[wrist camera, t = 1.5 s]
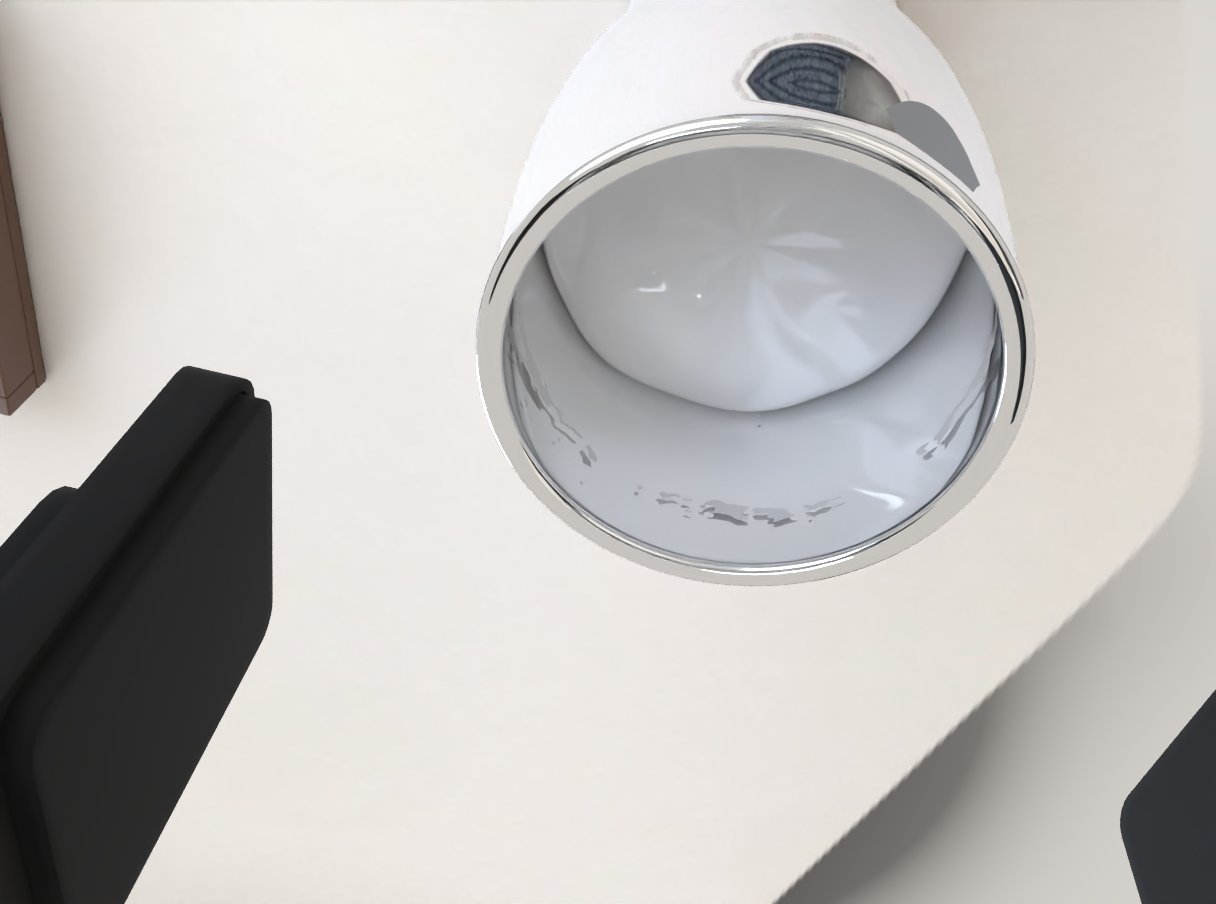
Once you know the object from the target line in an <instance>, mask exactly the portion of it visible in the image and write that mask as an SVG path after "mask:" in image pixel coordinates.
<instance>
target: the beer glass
mask: <svg viewBox="0 0 1216 904" xmlns="http://www.w3.org/2000/svg"><path fill="white" fill-rule="evenodd" d="M475 363H476V374H477V381H478V387H479V392H480V397H481V401H482V404H483V408H484V411H485V414H486V417H487V420H488V423H489V425H490V428H491V430H492V433H493V435H494V437H495V439H496V441H497V443H498V445H499V447H500V449H501V451H502V452H503V454H504V456H505V457H506V459H507V461H508V462H509V464H510V465H511V467H512V468H513V470H514V471H515V472H516V474H517V475H518V476H519V478H520V479H521V480H522V482H523V483H524V484H525V485H526V487H527V488H528V489H529V490H530V491H531V492H532V493H533V494H534V496H535V497H536V498H537V499H538V500H539V501H540V502H541V503H542V504H543V505H544V506H545V507H546V508H547V509H548V510H550V511H551V512H552V513H553V514H554V515H555V516H556V517H558V518H559V519H560V520H561V521H562V522H564V523H565V524H566V525H568V526H569V527H570V528H572V529H573V530H574V531H576V532H577V533H579V534H580V535H582V536H583V537H585V538H586V539H588V540H589V541H591V542H593V543H594V544H596V545H598V546H600V547H601V548H603V549H605V550H607V551H609V552H611V553H613V554H615V555H617V556H619V557H621V558H623V559H626V560H628V561H630V562H633V563H635V564H637V565H640V566H643V567H645V568H648V569H651V570H655V571H658V572H661V573H664V574H668V575H672V576H675V577H679V578H684V579H689V580H694V581H699V582H705V583H712V584H721V585H733V586H777V585H789V584H797V583H805V582H811V581H817V580H822V579H826V578H831V577H835V576H839V575H843V574H846V573H849V572H852V571H855V570H858V569H861V568H864V567H867V566H870V565H872V564H875V563H877V562H880V561H882V560H884V559H887V558H889V557H891V556H893V555H895V554H897V553H899V552H901V551H903V550H905V549H907V548H909V547H910V546H912V545H914V544H916V543H917V542H919V541H921V540H922V539H924V538H925V537H927V536H928V535H930V534H931V533H933V532H934V531H936V530H937V529H938V528H940V527H941V526H942V525H944V524H945V523H946V522H948V521H949V520H950V519H951V518H952V517H954V516H955V515H956V514H957V513H958V512H959V511H960V510H962V509H963V508H964V507H965V506H966V505H967V504H968V503H969V502H970V501H971V500H972V499H973V498H974V497H975V496H976V495H977V494H978V492H979V491H980V490H981V489H982V488H983V487H984V485H985V484H986V483H987V482H988V481H989V479H990V478H991V477H992V475H993V474H994V472H995V471H996V470H997V468H998V467H999V465H1000V464H1001V462H1002V461H1003V459H1004V457H1005V456H1006V454H1007V452H1008V451H1009V449H1010V447H1011V445H1012V443H1013V441H1014V439H1015V437H1016V435H1017V433H1018V430H1019V428H1020V425H1021V423H1022V420H1023V418H1024V415H1025V412H1026V408H1027V405H1028V401H1029V397H1030V393H1031V388H1032V382H1033V375H1034V365H1035V333H1034V323H1033V317H1032V311H1031V306H1030V302H1029V298H1028V294H1027V291H1026V288H1025V284H1024V282H1023V279H1022V276H1021V274H1020V271H1019V269H1018V264H1017V258H1016V253H1015V247H1014V241H1013V235H1012V231H1011V226H1010V222H1009V217H1008V212H1007V208H1006V203H1005V199H1004V195H1003V190H1002V186H1001V183H1000V180H999V176H998V173H997V170H996V167H995V164H994V161H993V158H992V155H991V152H990V149H989V146H988V143H987V140H986V137H985V134H984V132H983V129H982V126H981V124H980V122H979V120H978V117H977V115H976V113H975V111H974V109H973V107H972V105H971V104H970V102H969V100H968V98H967V96H966V94H965V92H964V91H963V89H962V87H961V85H960V83H959V81H958V79H957V78H956V76H955V74H954V72H953V71H952V69H951V67H950V66H949V64H948V63H947V61H946V59H945V58H944V57H943V55H942V54H941V52H940V51H939V50H938V48H937V47H936V46H935V45H934V44H933V42H932V41H931V40H930V39H929V38H928V37H927V36H926V35H925V34H924V33H923V32H922V31H921V30H920V29H919V28H918V27H917V26H916V25H915V24H914V23H913V22H912V21H911V20H910V19H909V18H908V17H907V16H906V15H905V14H904V13H903V12H902V11H901V10H900V9H899V8H898V7H897V0H630V1H629V6H628V10H627V11H626V12H625V13H624V14H623V15H622V16H621V17H619V18H618V19H617V20H616V21H615V22H614V23H613V24H612V25H611V26H610V27H609V28H608V29H607V30H606V31H605V32H604V33H603V34H602V35H600V36H599V38H598V39H597V40H596V41H595V42H594V43H593V44H592V45H591V46H590V47H589V49H588V50H587V51H586V52H585V53H584V55H583V56H582V57H581V59H580V60H579V61H578V63H577V64H576V66H575V67H574V69H573V70H572V72H571V73H570V75H569V76H568V78H567V80H566V81H565V83H564V85H563V86H562V88H561V90H560V91H559V93H558V95H557V96H556V98H555V100H554V101H553V103H552V105H551V106H550V108H549V110H548V112H547V114H546V115H545V117H544V119H543V121H542V123H541V125H540V128H539V130H538V132H537V135H536V137H535V139H534V142H533V144H532V147H531V149H530V152H529V154H528V157H527V159H526V162H525V165H524V167H523V170H522V172H521V175H520V178H519V180H518V183H517V187H516V190H515V193H514V197H513V200H512V203H511V207H510V210H509V214H508V217H507V221H506V224H505V227H504V231H503V235H502V239H501V243H500V248H499V252H498V256H497V259H496V261H495V263H494V265H493V267H492V270H491V272H490V275H489V277H488V280H487V283H486V285H485V289H484V292H483V295H482V299H481V303H480V308H479V313H478V318H477V326H476V337H475Z"/></svg>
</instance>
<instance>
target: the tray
mask: <svg viewBox="0 0 1216 904" xmlns="http://www.w3.org/2000/svg"><path fill="white" fill-rule="evenodd" d="M44 382H45V373H44V368H43V362H42V356H41V350H40V344H39V338H38V332H37V326H36V321H35V315H34V309H33V303H32V297H31V291H30V285H29V279H28V274H27V268H26V262H25V256H24V250H23V244H22V238H21V233H20V227H19V221H18V215H17V209H16V203H15V197H14V191H13V186H12V180H11V174H10V168H9V162H8V156H7V150H6V144H5V139H4V133H3V127H2V121H1V115H0V414H3V415H8V416H10V415H12V414H13V413H14V412H15V411H16V410H17V409H18V408H19V407H20V406H21V405H22V404H23V403H24V402H25V401H26V400H27V399H28V398H29V397H30V396H31V395H32V394H33V393H34V392H35V391H36V388H39V387H40V386H41V385H42V384H43V383H44Z"/></svg>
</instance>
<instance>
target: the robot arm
mask: <svg viewBox="0 0 1216 904" xmlns="http://www.w3.org/2000/svg"><path fill="white" fill-rule="evenodd" d="M271 611H272V412H271V405H270V403H269V401H267V400H265V399H260V398H256V397H255V396H254V388H253V386H252V383H251V382H250V381H249V380H247V379H244V378H240V377H236V376H231V375H227V374H222V373H218V372H214V371H209V370H205V369H201V368H196V367H192V366H186V367H183V368H181V369H180V370H179V371H178V372H177V373H176V374H175V375H174V376H173V377H172V379H171V380H170V381H169V382H168V383H167V385H166V386H165V387H164V388H163V389H162V391H161V392H160V393H159V394H158V395H157V396H156V398H155V399H154V400H153V401H152V402H151V404H150V405H149V406H148V407H147V408H146V409H145V411H144V412H143V413H142V414H141V415H140V417H139V418H138V419H137V420H136V421H135V422H134V424H133V425H132V426H131V427H130V428H129V430H128V431H127V432H126V433H125V434H124V435H123V437H122V438H121V439H120V440H119V441H118V443H117V444H116V445H115V446H114V447H113V448H112V450H111V451H110V452H109V453H108V454H107V456H106V457H105V458H104V459H103V460H102V461H101V463H100V464H99V465H98V466H97V467H96V469H95V470H94V471H93V472H92V473H91V474H90V476H89V477H88V478H87V479H86V480H85V482H84V483H83V484H82V485H81V486H80V487H79V489H76V488H71V487H67V486H64V487H61V488H58V489H56V490H53V491H52V492H51V493H50V494H48V495H47V496H46V497H45V498H44V499H43V500H42V501H41V502H39V504H38V505H37V506H36V507H35V508H34V509H33V510H32V512H31V513H30V514H29V515H28V516H27V517H26V518H25V519H24V521H23V522H22V523H21V524H20V525H19V526H18V527H17V529H16V530H15V531H14V532H13V533H12V534H11V535H10V537H9V538H8V539H7V540H6V541H5V542H4V543H3V545H2V546H1V547H0V904H124V903H125V901H126V899H127V898H128V896H129V894H130V892H131V890H132V888H133V886H134V884H135V882H136V880H137V879H138V877H139V875H140V873H141V871H142V869H143V867H144V865H145V863H146V861H147V859H148V858H149V856H150V854H151V852H152V850H153V848H154V846H155V844H156V842H157V840H158V839H159V837H160V835H161V833H162V831H163V829H164V827H165V825H166V823H167V821H168V819H169V818H170V816H171V814H172V812H173V810H174V808H175V806H176V804H177V802H178V800H179V799H180V797H181V795H182V793H183V791H184V789H185V787H186V785H187V783H188V781H189V779H190V778H191V776H192V774H193V772H194V770H195V768H196V766H197V764H198V762H199V760H200V759H201V757H202V755H203V753H204V751H205V749H206V747H207V745H208V743H209V741H210V739H211V738H212V736H213V734H214V732H215V730H216V728H217V726H218V724H219V722H220V720H221V718H222V717H223V715H224V713H225V711H226V709H227V707H228V705H229V703H230V701H231V699H232V698H233V696H234V694H235V692H236V690H237V688H238V686H239V684H240V682H241V680H242V678H243V677H244V675H245V673H246V671H247V669H248V667H249V665H250V663H251V661H252V659H253V658H254V656H255V654H256V652H257V650H258V648H259V646H260V644H261V642H262V640H263V638H264V636H265V633H266V630H267V627H268V624H269V620H270V616H271ZM1120 828H1121V834H1122V839H1123V842H1124V845H1125V849H1126V852H1127V856H1128V859H1129V862H1130V865H1131V869H1132V872H1133V876H1134V879H1135V882H1136V885H1137V889H1138V892H1139V896H1140V899H1141V902H1142V904H1216V690H1215V691H1214V692H1213V693H1212V695H1211V696H1210V697H1209V698H1208V699H1207V701H1206V702H1205V703H1204V704H1203V706H1202V707H1201V708H1200V709H1199V710H1198V712H1197V713H1196V714H1195V715H1194V717H1193V718H1192V719H1191V720H1190V721H1189V722H1188V724H1187V725H1186V726H1185V727H1184V729H1183V730H1182V731H1181V732H1180V733H1179V735H1178V736H1177V737H1176V738H1175V739H1174V741H1173V742H1172V743H1171V744H1170V745H1169V747H1168V748H1167V749H1166V750H1165V751H1164V753H1163V754H1162V755H1161V757H1160V758H1159V759H1158V760H1157V761H1156V762H1155V764H1154V765H1153V766H1152V767H1151V769H1150V770H1149V771H1148V772H1147V773H1146V775H1145V776H1144V777H1143V778H1142V779H1141V781H1140V782H1139V783H1138V784H1137V786H1136V787H1135V788H1134V789H1133V790H1132V791H1131V793H1130V794H1129V795H1128V797H1127V798H1126V800H1125V802H1124V805H1123V808H1122V811H1121V818H1120Z"/></svg>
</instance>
